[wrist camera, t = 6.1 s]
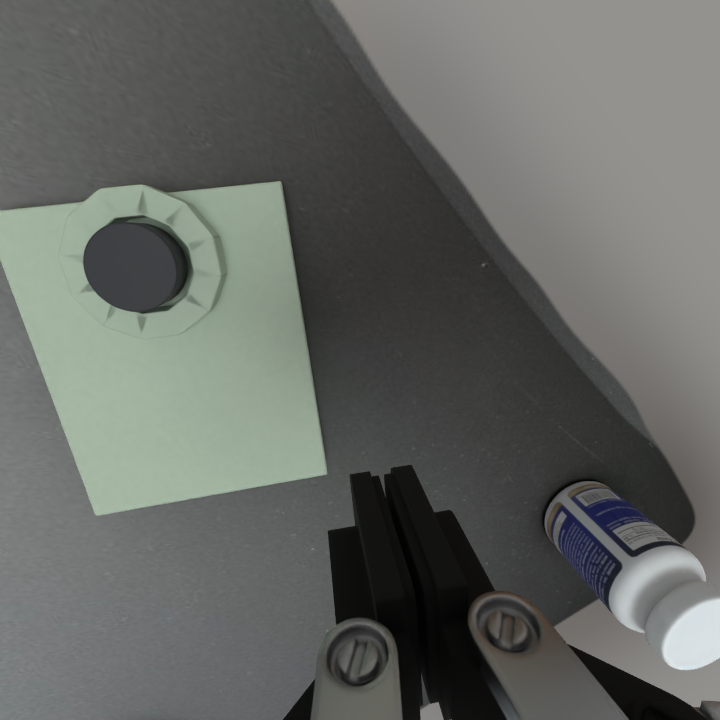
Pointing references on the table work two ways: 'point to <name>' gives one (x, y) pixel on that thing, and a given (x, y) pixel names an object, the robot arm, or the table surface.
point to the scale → (173, 346)
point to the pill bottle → (638, 573)
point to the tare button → (134, 266)
